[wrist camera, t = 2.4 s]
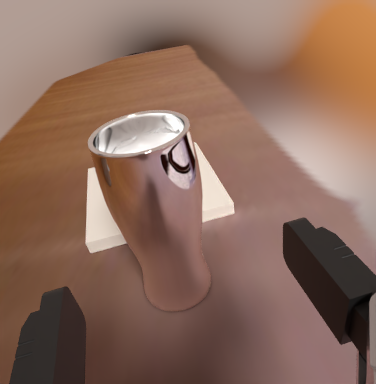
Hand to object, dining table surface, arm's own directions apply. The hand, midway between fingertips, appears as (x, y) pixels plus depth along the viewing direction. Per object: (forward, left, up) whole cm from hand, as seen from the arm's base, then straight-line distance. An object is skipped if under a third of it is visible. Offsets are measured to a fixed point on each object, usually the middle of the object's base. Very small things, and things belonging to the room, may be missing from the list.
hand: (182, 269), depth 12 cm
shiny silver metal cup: (0, +11, -14) cm, 18 cm away
